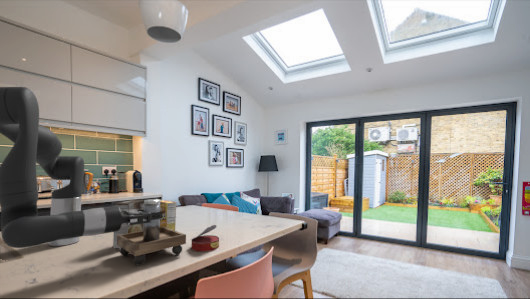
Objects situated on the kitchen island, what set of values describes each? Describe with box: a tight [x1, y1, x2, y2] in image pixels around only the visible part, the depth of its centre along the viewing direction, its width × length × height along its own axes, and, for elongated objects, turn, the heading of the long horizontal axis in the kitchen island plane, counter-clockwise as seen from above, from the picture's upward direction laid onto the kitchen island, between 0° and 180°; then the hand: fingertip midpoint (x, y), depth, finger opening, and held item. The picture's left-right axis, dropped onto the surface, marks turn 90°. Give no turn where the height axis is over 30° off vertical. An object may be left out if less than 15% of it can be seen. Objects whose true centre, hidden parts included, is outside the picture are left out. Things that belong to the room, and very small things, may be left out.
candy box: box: [160, 199, 177, 231], centre depth 101 cm, size 9×4×15 cm, turn 50°
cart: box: [117, 227, 187, 266], centre depth 84 cm, size 16×16×6 cm
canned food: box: [190, 224, 220, 252], centre depth 92 cm, size 11×10×10 cm
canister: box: [143, 198, 161, 242], centre depth 84 cm, size 5×5×13 cm
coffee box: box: [112, 199, 145, 249], centre depth 95 cm, size 9×6×16 cm
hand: (155, 213), depth 85 cm, fingers open, 8 cm apart
